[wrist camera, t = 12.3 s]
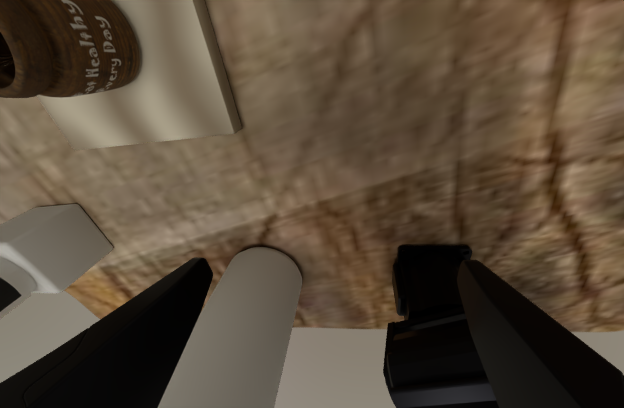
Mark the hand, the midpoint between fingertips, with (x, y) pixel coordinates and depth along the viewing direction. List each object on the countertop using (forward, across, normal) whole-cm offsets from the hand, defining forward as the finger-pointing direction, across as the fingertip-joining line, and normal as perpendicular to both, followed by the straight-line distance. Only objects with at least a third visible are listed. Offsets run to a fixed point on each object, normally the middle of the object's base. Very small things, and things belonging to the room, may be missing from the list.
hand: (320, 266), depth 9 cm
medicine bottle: (+13, +34, +8) cm, 37 cm away
